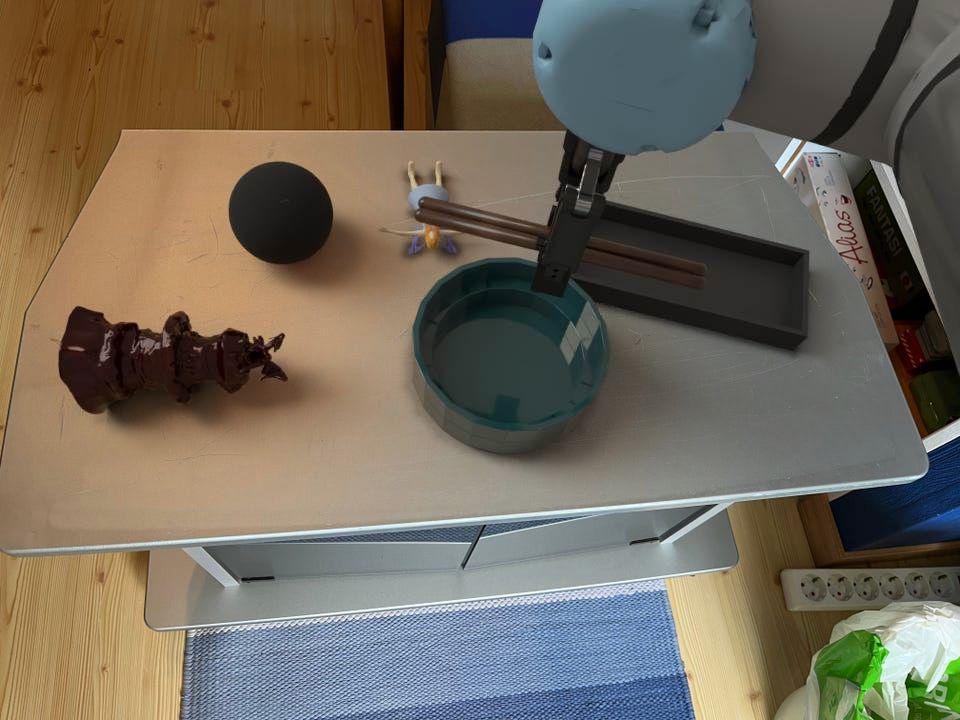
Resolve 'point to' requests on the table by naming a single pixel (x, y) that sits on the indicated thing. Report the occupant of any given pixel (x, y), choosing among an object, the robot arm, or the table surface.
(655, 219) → the tray
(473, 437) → the bowl
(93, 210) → the table surface
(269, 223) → the speaker
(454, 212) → the chopsticks
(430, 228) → the fairy figurine
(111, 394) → the figurine
